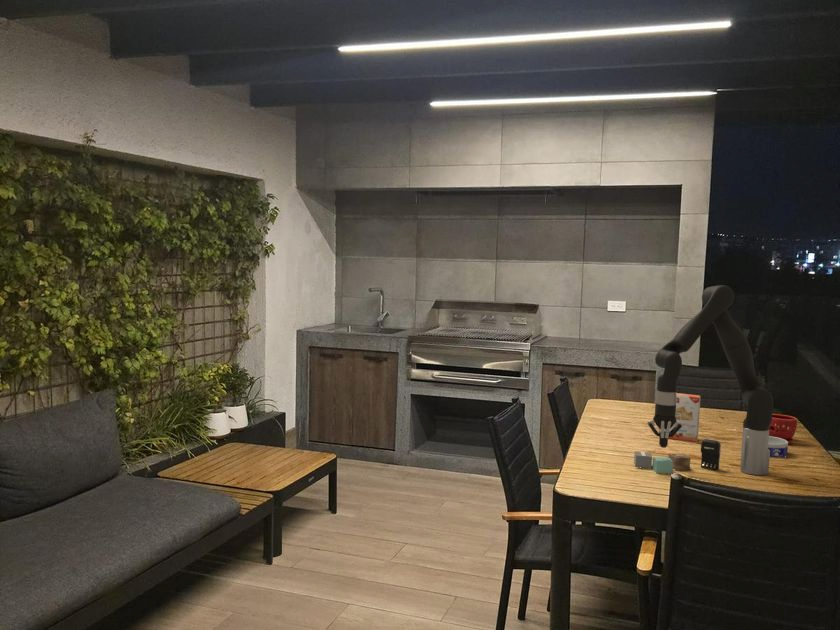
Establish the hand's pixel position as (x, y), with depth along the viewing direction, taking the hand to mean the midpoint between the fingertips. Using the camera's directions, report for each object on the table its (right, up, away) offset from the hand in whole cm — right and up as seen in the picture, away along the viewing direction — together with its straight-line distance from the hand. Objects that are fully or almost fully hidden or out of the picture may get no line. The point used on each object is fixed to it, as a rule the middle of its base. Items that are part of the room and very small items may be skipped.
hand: (663, 447), depth 271 cm
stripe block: (-6, -9, +7) cm, 13 cm away
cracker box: (+27, -7, +53) cm, 59 cm away
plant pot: (+72, -8, +53) cm, 89 cm away
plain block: (0, -10, +1) cm, 10 cm away
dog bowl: (+56, -9, +33) cm, 66 cm away
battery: (+20, -10, +6) cm, 23 cm away
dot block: (+8, -9, +6) cm, 14 cm away
